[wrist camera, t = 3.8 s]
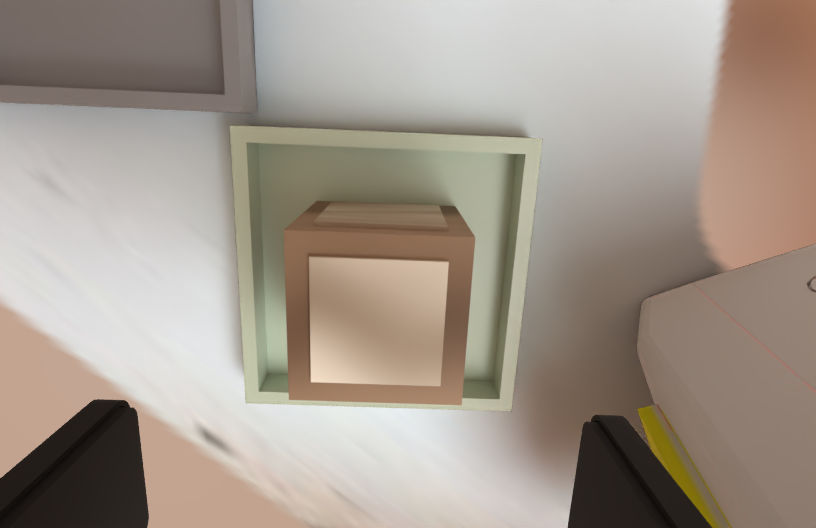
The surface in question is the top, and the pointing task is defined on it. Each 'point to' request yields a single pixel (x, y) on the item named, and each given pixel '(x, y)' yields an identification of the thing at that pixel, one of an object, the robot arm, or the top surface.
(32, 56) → the grey tray
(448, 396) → the letter block
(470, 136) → the green tray
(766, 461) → the electrical switch box
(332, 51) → the top surface
